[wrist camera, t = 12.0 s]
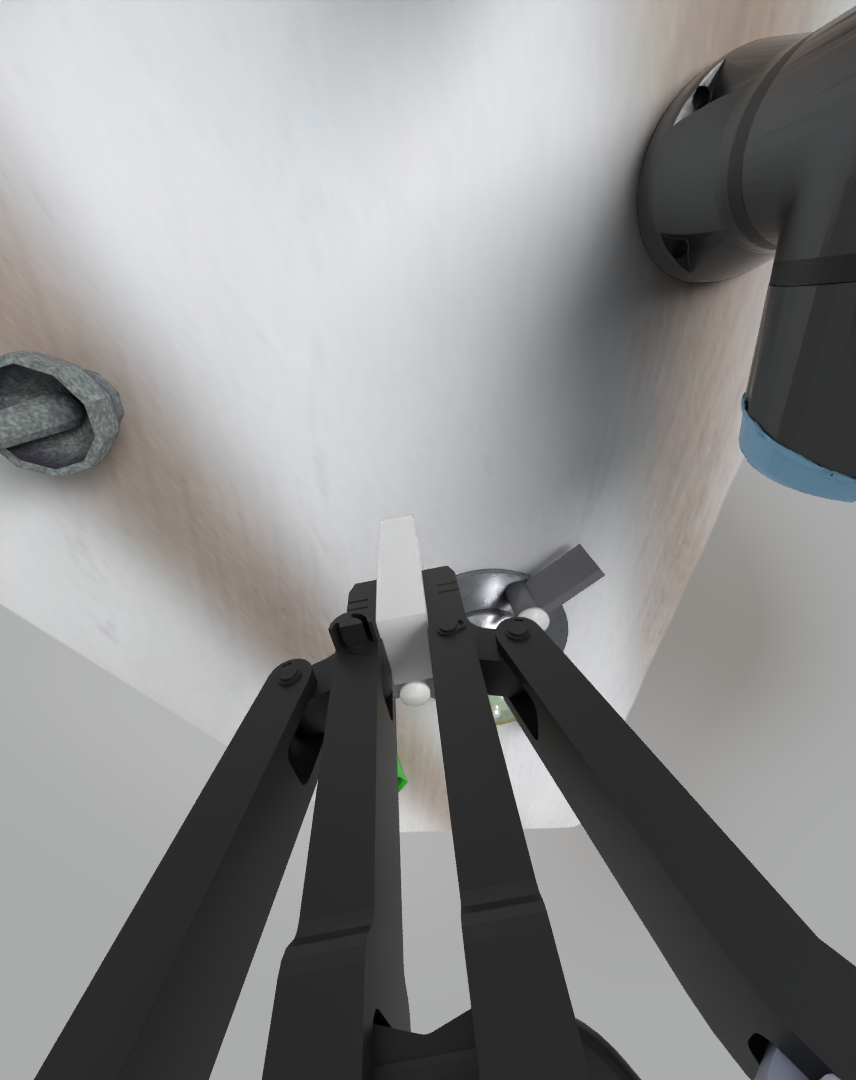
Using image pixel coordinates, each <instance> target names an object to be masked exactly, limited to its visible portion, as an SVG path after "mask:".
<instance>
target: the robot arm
mask: <svg viewBox="0 0 856 1080" xmlns="http://www.w3.org/2000/svg"><path fill="white" fill-rule="evenodd" d="M637 215H638V223H639V229H640V233H641V237H642V240H643V242H644V245H645V247H646V249H647V251H648V253H649V255H650V256H651V258H652V259H653V261H654V262H655V263H656V264H657V265H658V266H659V267H660V268H661V269H662V270H663V271H664V272H665V273H667V274H668V275H670V276H672V277H674V278H676V279H679V280H682V281H687V282H714V281H722V280H727V279H730V278H734V277H737V276H740V275H742V274H745V273H747V272H749V271H751V270H753V269H755V268H757V267H758V266H760V265H762V264H764V263H766V262H768V261H769V260H771V259H773V258H774V263H773V268H772V273H771V278H770V282H769V285H768V290H767V295H766V300H765V304H764V309H763V314H762V319H761V323H760V328H759V333H758V337H757V342H756V347H755V352H754V356H753V361H752V366H751V370H750V375H749V380H748V385H747V389H746V392H745V393H744V394H743V396H742V401H741V409H742V412H743V416H742V422H741V429H740V436H739V445H740V449H741V451H742V453H743V454H744V455H745V458H746V459H747V461H748V463H749V464H750V465H751V466H752V467H753V468H755V469H756V470H757V471H758V472H760V473H761V474H763V475H764V476H766V477H767V478H769V479H771V480H773V481H775V482H777V483H779V484H782V485H784V486H786V487H789V488H792V489H794V490H797V491H800V492H803V493H807V494H810V495H813V496H818V497H821V498H826V499H831V500H837V501H843V502H851V503H852V502H854V501H856V6H854V7H853V8H851V9H850V10H848V11H846V12H845V13H843V14H842V15H840V16H839V17H837V18H835V19H834V20H832V21H831V22H829V23H827V24H826V25H824V26H823V27H821V28H820V29H818V30H817V31H815V32H810V33H802V34H793V35H784V36H775V37H768V38H763V39H759V40H755V41H752V42H750V43H747V44H745V45H743V46H740V47H738V48H736V49H734V50H733V51H731V52H729V53H728V54H726V55H725V56H723V57H722V58H720V59H719V60H718V61H716V62H715V63H713V64H712V65H711V66H709V67H708V68H706V69H705V70H704V71H702V72H701V73H700V74H699V75H697V76H696V77H695V78H694V79H693V80H692V81H691V82H690V83H689V84H688V85H687V86H686V87H685V88H684V89H683V90H682V91H681V92H680V93H679V95H678V96H677V97H676V98H675V100H674V101H673V102H672V104H671V105H670V106H669V108H668V109H667V111H666V112H665V114H664V116H663V117H662V119H661V121H660V122H659V124H658V126H657V128H656V130H655V132H654V134H653V137H652V139H651V141H650V144H649V146H648V149H647V152H646V155H645V158H644V161H643V165H642V169H641V173H640V178H639V185H638V194H637ZM328 630H329V633H330V635H331V638H332V641H333V643H334V646H335V649H336V652H335V653H334V654H333V655H331V656H330V657H328V658H326V659H325V660H322V661H320V662H318V663H316V664H313V665H311V664H310V663H309V662H308V661H306V660H304V659H293V660H289V661H287V662H284V663H282V664H281V665H279V666H278V667H277V668H275V669H274V670H273V672H272V673H271V674H270V675H269V677H268V679H267V680H266V682H265V684H264V685H263V687H262V689H261V691H260V692H259V694H258V696H257V697H256V699H255V701H254V703H253V704H252V706H251V708H250V709H249V711H248V713H247V715H246V716H245V718H244V720H243V721H242V723H241V725H240V727H239V728H238V730H237V732H236V734H235V735H234V737H233V739H232V740H231V742H230V744H229V746H228V747H227V749H226V751H225V752H224V754H223V756H222V758H221V759H220V761H219V763H218V765H217V766H216V768H215V770H214V771H213V773H212V775H211V776H210V778H209V780H208V782H207V783H206V785H205V787H204V788H203V790H202V792H201V794H200V795H199V797H198V799H197V800H196V802H195V804H194V806H193V807H192V809H191V811H190V813H189V814H188V816H187V818H186V819H185V821H184V823H183V825H182V826H181V828H180V830H179V832H178V833H177V835H176V837H175V838H174V840H173V842H172V843H171V845H170V847H169V849H168V850H167V852H166V854H165V856H164V857H163V859H162V861H161V862H160V864H159V866H158V868H157V869H156V871H155V873H154V874H153V876H152V878H151V880H150V881H149V883H148V885H147V886H146V888H145V890H144V892H143V893H142V895H141V897H140V898H139V900H138V902H137V904H136V905H135V907H134V909H133V910H132V912H131V914H130V916H129V917H128V919H127V921H126V922H125V924H124V926H123V928H122V929H121V931H120V933H119V935H118V936H117V938H116V940H115V941H114V943H113V945H112V946H111V948H110V950H109V952H108V953H107V955H106V957H105V958H104V960H103V962H102V964H101V966H100V967H99V969H98V971H97V972H96V974H95V976H94V978H93V979H92V981H91V983H90V984H89V986H88V988H87V990H86V991H85V993H84V995H83V996H82V998H81V1000H80V1001H79V1003H78V1005H77V1007H76V1008H75V1010H74V1012H73V1013H72V1015H71V1017H70V1019H69V1020H68V1022H67V1024H66V1026H65V1027H64V1029H63V1031H62V1032H61V1034H60V1036H59V1037H58V1039H57V1041H56V1043H55V1044H54V1046H53V1048H52V1050H51V1051H50V1053H49V1055H48V1056H47V1058H46V1060H45V1062H44V1063H43V1065H42V1067H41V1068H40V1070H39V1072H38V1074H37V1075H36V1077H35V1079H34V1080H209V1077H210V1075H211V1072H212V1069H213V1066H214V1064H215V1061H216V1058H217V1055H218V1053H219V1050H220V1047H221V1044H222V1041H223V1039H224V1036H225V1033H226V1030H227V1028H228V1025H229V1022H230V1020H231V1017H232V1014H233V1011H234V1009H235V1006H236V1003H237V1000H238V998H239V995H240V992H241V989H242V986H243V984H244V981H245V978H246V975H247V973H248V970H249V967H250V964H251V962H252V959H253V956H254V954H255V951H256V948H257V945H258V943H259V940H260V937H261V935H262V932H263V929H264V926H265V923H266V921H267V918H268V915H269V913H270V910H271V907H272V904H273V901H274V899H275V896H276V893H277V891H278V888H279V885H280V882H281V880H282V877H283V874H284V871H285V869H286V865H287V863H288V860H289V858H290V855H291V852H292V849H293V847H294V844H295V841H296V838H297V836H298V833H299V830H300V827H301V824H302V822H303V819H304V816H305V814H306V811H307V808H308V806H309V803H310V800H311V797H312V795H313V792H314V789H315V786H316V784H317V781H318V785H317V792H316V799H315V807H314V814H313V822H312V829H311V836H310V844H309V851H308V859H307V866H306V873H305V881H304V888H303V895H302V903H301V910H300V918H299V924H298V929H297V933H296V936H295V938H294V940H293V941H292V942H291V943H290V944H289V945H288V947H287V948H286V950H285V953H284V955H283V958H282V961H281V965H280V970H279V975H278V979H277V986H276V993H275V999H274V1006H273V1012H272V1018H271V1024H270V1031H269V1038H268V1044H267V1050H266V1057H265V1063H264V1069H263V1076H262V1080H641V1079H640V1078H639V1076H638V1075H637V1074H636V1073H635V1072H634V1071H633V1070H632V1068H631V1067H630V1066H629V1065H628V1064H627V1062H626V1061H625V1060H624V1059H623V1058H622V1057H621V1055H620V1054H619V1053H618V1052H617V1051H616V1050H615V1049H614V1048H613V1047H612V1046H611V1045H610V1044H609V1043H608V1042H607V1041H606V1040H605V1039H604V1038H603V1037H602V1036H600V1035H599V1034H598V1033H597V1032H595V1031H594V1030H593V1029H591V1028H590V1027H589V1026H588V1025H586V1024H585V1023H583V1022H582V1021H580V1020H578V1019H576V1018H575V1016H574V1012H573V1009H572V1005H571V1001H570V998H569V994H568V990H567V986H566V982H565V978H564V974H563V971H562V967H561V963H560V959H559V955H558V952H557V948H556V944H555V940H554V936H553V933H552V929H551V925H550V922H549V918H548V914H547V911H546V908H545V905H544V902H543V899H542V897H541V895H540V892H539V889H538V886H537V883H536V879H535V875H534V871H533V867H532V863H531V860H530V856H529V852H528V848H527V844H526V840H525V837H524V832H523V829H522V825H521V821H520V817H519V813H518V809H517V805H516V802H515V798H514V794H513V790H512V786H511V782H510V778H509V774H508V771H507V767H506V763H505V759H504V755H503V751H502V747H501V744H500V740H499V736H498V732H497V728H496V724H495V720H494V716H493V713H492V709H491V705H490V701H489V697H488V695H493V696H503V698H504V701H505V702H506V704H507V706H508V707H509V709H510V710H511V712H512V714H513V715H514V717H515V718H516V720H517V722H518V723H519V725H520V726H521V728H522V730H523V731H524V733H525V734H526V736H527V738H528V739H529V741H530V742H531V744H532V746H533V747H534V749H535V750H536V752H537V754H538V755H539V757H540V758H541V760H542V762H543V763H544V765H545V767H546V768H547V770H548V771H549V773H550V775H551V776H552V778H553V779H554V781H555V783H556V784H557V786H558V787H559V789H560V791H561V792H562V794H563V795H564V797H565V799H566V800H567V802H568V803H569V805H570V807H571V808H572V810H573V811H574V813H575V815H576V816H577V818H578V819H579V821H580V823H581V824H582V826H583V827H584V829H585V830H586V832H587V834H588V835H589V837H590V839H591V840H592V842H593V843H594V845H595V847H596V848H597V850H598V851H599V853H600V855H601V856H602V858H603V859H604V861H605V863H606V864H607V866H608V867H609V869H610V871H611V872H612V874H613V876H614V877H615V879H616V880H617V882H618V884H619V885H620V887H621V888H622V890H623V892H624V893H625V895H626V896H627V898H628V900H629V901H630V903H631V904H632V906H633V908H634V909H635V911H636V912H637V914H638V916H639V917H640V919H641V920H642V922H643V924H644V925H645V927H646V928H647V930H648V931H649V933H650V935H651V936H652V938H653V940H654V941H655V943H656V944H657V946H658V947H659V949H660V951H661V952H662V954H663V956H664V957H665V959H666V960H667V962H668V964H669V965H670V967H671V968H672V970H673V972H674V973H675V975H676V976H677V978H678V980H679V981H680V983H681V985H682V986H683V987H684V989H685V991H686V993H687V994H688V995H689V997H690V998H691V1000H692V1001H693V1003H694V1004H695V1006H696V1007H697V1009H698V1010H699V1012H700V1013H701V1015H702V1016H703V1018H704V1019H705V1021H706V1022H707V1024H708V1025H709V1027H710V1028H711V1029H712V1031H713V1032H714V1034H715V1035H716V1036H717V1038H718V1039H719V1040H720V1041H721V1043H722V1044H723V1045H724V1046H725V1048H726V1049H727V1050H728V1052H729V1053H730V1054H731V1056H732V1057H733V1058H734V1059H735V1061H736V1062H737V1063H738V1065H739V1066H740V1067H741V1068H742V1070H743V1071H744V1072H745V1074H746V1075H747V1076H748V1077H749V1078H750V1079H751V1080H856V967H855V966H854V965H852V963H850V962H849V961H848V960H846V959H845V958H844V957H842V956H841V955H840V954H838V953H837V952H836V951H835V950H833V949H832V948H831V947H829V946H828V945H827V944H825V943H824V942H823V941H821V940H820V939H819V938H818V937H817V936H816V935H815V934H814V933H813V932H812V930H811V929H810V928H809V927H808V926H807V925H806V924H805V923H804V921H802V919H801V918H800V917H799V916H798V915H797V914H796V913H795V912H794V910H793V909H792V908H791V907H790V906H789V905H788V904H787V903H786V901H784V899H783V898H782V897H781V896H780V895H779V894H778V892H777V891H776V890H775V889H774V888H773V887H772V886H771V885H770V883H769V882H768V881H767V880H766V879H765V878H764V877H763V876H762V874H761V873H760V872H759V871H758V870H757V869H756V868H755V867H754V865H753V864H752V863H751V862H750V861H749V860H748V859H747V858H746V857H745V855H744V854H743V853H742V852H741V851H740V850H739V849H738V848H737V847H736V845H735V844H734V843H733V842H732V841H731V840H730V839H729V838H728V836H727V835H726V834H725V833H724V832H723V831H722V830H721V829H720V827H719V826H718V825H717V824H716V823H715V822H714V821H713V820H712V819H711V817H710V816H709V815H708V814H707V813H706V812H705V811H704V810H703V809H702V807H701V806H700V805H699V804H698V803H697V802H696V801H695V799H694V798H693V797H692V796H691V795H690V794H689V793H688V792H687V790H686V789H685V788H684V787H683V786H682V785H681V784H680V783H679V782H678V780H677V779H676V778H675V777H674V776H673V775H672V774H671V773H670V772H669V770H668V769H667V768H666V767H665V766H664V765H663V764H662V762H661V761H660V760H659V759H658V758H657V757H656V756H655V755H654V754H653V753H652V751H651V750H650V749H649V748H648V747H647V746H646V745H645V744H644V742H643V741H642V740H641V739H640V738H639V737H638V736H637V735H636V734H635V732H634V731H633V730H632V729H631V728H630V727H629V726H628V724H626V722H625V721H624V720H623V719H622V718H621V717H620V715H619V714H618V713H617V712H616V711H615V710H614V709H613V708H612V706H611V705H610V704H609V703H608V702H607V701H606V700H605V699H604V698H603V696H602V695H601V694H600V693H599V692H598V691H597V690H596V689H595V687H594V686H593V685H592V684H591V683H590V682H589V681H588V680H587V678H586V677H585V676H584V675H583V674H582V673H581V672H580V671H579V670H578V668H577V667H576V666H575V665H574V664H573V663H572V662H571V661H570V659H569V658H568V657H567V656H566V655H565V654H564V653H563V652H562V651H561V649H560V648H559V647H558V646H557V645H556V644H555V643H554V642H553V640H552V639H551V638H550V637H549V636H548V635H547V634H546V633H545V631H544V630H543V629H542V628H541V627H540V626H539V625H538V624H537V623H536V622H534V621H533V620H531V619H528V618H525V617H512V618H507V619H505V620H504V621H502V622H500V623H499V625H498V626H497V627H496V629H493V628H483V627H479V626H476V625H474V624H473V623H471V622H470V621H469V620H468V619H467V616H466V614H465V610H464V606H463V602H462V598H461V594H460V591H459V587H458V583H457V579H456V575H455V572H454V571H453V570H452V569H450V568H449V567H448V566H443V567H438V568H433V569H427V570H424V567H423V562H422V557H421V552H420V547H419V542H418V537H417V532H416V527H415V523H414V518H413V514H412V515H407V516H402V517H396V518H391V519H386V520H380V521H378V556H377V580H374V581H368V582H363V583H358V584H355V585H354V587H353V588H352V590H351V591H350V593H349V598H348V606H347V613H344V614H342V615H340V616H339V617H337V618H336V619H335V620H334V621H333V622H332V623H331V624H330V627H329V629H328ZM429 678H433V682H434V690H435V698H436V706H437V714H438V722H439V730H440V738H441V746H442V754H443V762H444V770H445V778H446V786H447V794H448V802H449V810H450V818H451V826H452V834H453V842H454V849H455V858H456V866H457V874H458V881H459V890H460V899H461V922H462V933H463V942H464V951H465V959H466V967H467V975H468V984H469V992H470V1000H471V1009H470V1010H468V1011H466V1012H465V1013H463V1014H461V1015H460V1016H458V1017H457V1018H455V1019H453V1020H452V1021H450V1022H449V1023H447V1024H445V1025H443V1026H442V1027H440V1028H439V1029H437V1030H435V1031H434V1032H432V1033H430V1034H426V1035H422V1034H417V1033H412V1032H411V1029H410V1013H409V1004H408V996H407V991H406V985H405V977H404V964H403V934H402V900H401V868H400V835H399V803H398V770H397V738H396V705H395V696H394V693H393V689H392V679H393V682H394V685H397V684H403V683H408V682H413V681H419V680H424V679H429Z"/></svg>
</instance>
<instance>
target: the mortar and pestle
mask: <svg viewBox="0 0 856 1080" xmlns="http://www.w3.org/2000/svg"><path fill="white" fill-rule="evenodd" d="M123 415H124V410H123V407H122V404H121V400H120V397H119V393H118V392H117V391H116V390H115V389H114V388H113V387H112V386H111V385H110V384H109V383H108V382H107V381H106V380H105V379H104V378H103V377H102V376H101V375H100V374H98V373H95V372H92V371H89V370H86V369H83V368H81V367H80V366H78V365H75V364H72V363H69V362H66V361H63V360H60V359H57V358H54V357H50V356H47V355H44V354H41V353H38V352H28V351H19V352H12V353H7V354H4V355H1V356H0V453H1V454H2V455H3V456H5V457H6V458H7V459H9V460H10V461H11V462H12V463H14V464H15V465H16V466H17V467H21V468H25V469H29V470H32V471H36V472H40V473H44V474H48V475H52V476H55V477H62V476H66V475H69V474H72V473H75V472H79V471H82V470H85V469H88V468H92V467H93V466H95V465H97V464H99V463H100V462H101V461H102V460H103V459H104V458H105V457H106V456H107V455H108V453H109V451H110V449H111V447H112V445H113V443H114V441H115V439H116V437H117V435H118V433H119V431H120V421H121V419H122V417H123Z"/></svg>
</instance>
